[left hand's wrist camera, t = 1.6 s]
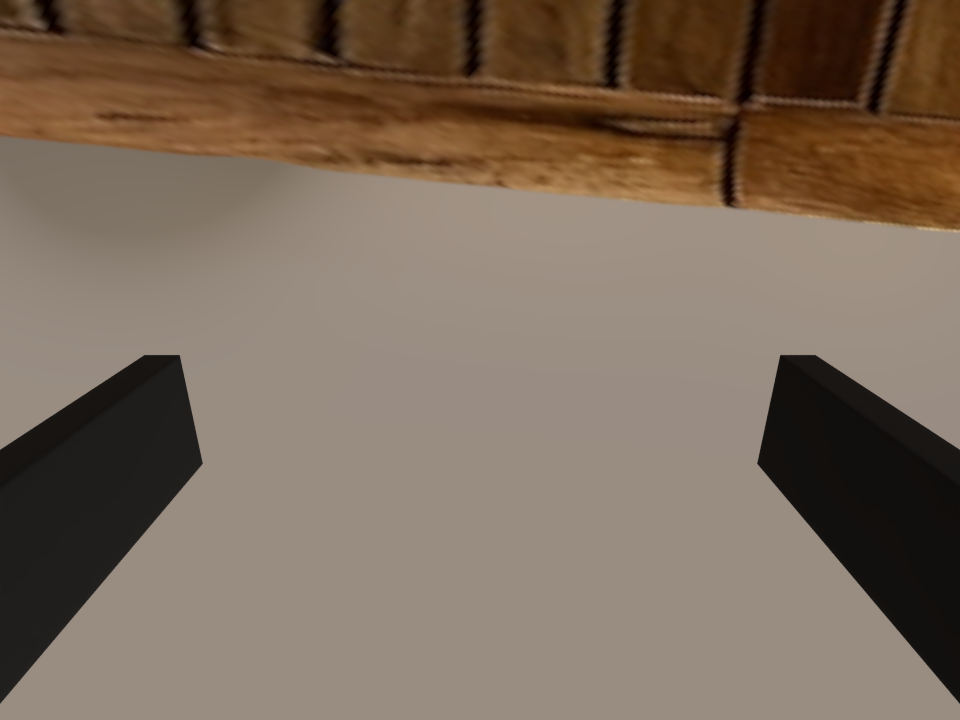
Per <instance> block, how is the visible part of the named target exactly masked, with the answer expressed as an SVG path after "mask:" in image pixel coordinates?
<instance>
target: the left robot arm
mask: <svg viewBox="0 0 960 720" xmlns="http://www.w3.org/2000/svg"><path fill="white" fill-rule="evenodd" d="M202 464H203V463H202V458H201V454H200V449H199V444H198V439H197V435H196V430H195V425H194V420H193V416H192V411H191V406H190V402H189V397H188V392H187V388H186V383H185V378H184V373H183V369H182V364H181V359H180V355H144V356H143V357H141V358H140V359H138V360H137V361H135V362H133V363H132V364H130V365H129V366H127V367H126V368H124V369H123V370H121V371H120V372H118V373H117V374H115V375H114V376H112V377H111V378H109V379H108V380H106V381H105V382H103V383H101V384H100V385H98V386H97V387H95V388H94V389H92V390H91V391H89V392H88V393H86V394H85V395H83V396H82V397H80V398H79V399H77V400H75V401H74V402H72V403H71V404H69V405H68V406H66V407H65V408H63V409H62V410H60V411H59V412H57V413H56V414H54V415H53V416H51V417H50V418H48V419H46V420H45V421H43V422H42V423H40V424H39V425H37V426H36V427H34V428H33V429H31V430H30V431H28V432H27V433H25V434H24V435H22V436H21V437H19V438H17V439H16V440H14V441H13V442H11V443H10V444H8V445H7V446H5V447H4V448H2V449H1V450H0V703H1V702H2V701H3V700H4V698H5V697H6V696H7V695H8V694H9V693H10V691H11V690H12V689H13V688H14V687H15V685H16V684H17V683H18V682H19V681H20V680H21V678H22V677H23V676H24V675H25V674H26V672H27V671H28V670H29V669H30V668H31V667H32V665H33V664H34V663H35V662H36V661H37V659H38V658H39V657H40V656H41V655H42V653H43V652H44V651H45V650H46V649H47V648H48V646H49V645H50V644H51V643H52V642H53V640H54V639H55V638H56V637H57V636H58V634H59V633H60V632H61V631H62V630H63V629H64V627H65V626H66V625H67V624H68V623H69V621H70V620H71V619H72V618H73V617H74V616H75V614H76V613H77V612H78V611H79V610H80V608H81V607H82V606H83V605H84V604H85V603H86V601H87V600H88V599H89V598H90V597H91V595H92V594H93V593H94V592H95V591H96V590H97V588H98V587H99V586H100V585H101V584H102V582H103V581H104V580H105V579H106V578H107V576H108V575H109V574H110V573H111V572H112V571H113V569H114V568H115V567H116V566H117V565H118V563H119V562H120V561H121V560H122V559H123V558H124V556H125V555H126V554H127V553H128V552H129V550H130V549H131V548H132V547H133V546H134V544H135V543H136V542H137V541H138V540H139V539H140V537H141V536H142V535H143V534H144V533H145V531H146V530H147V529H148V528H149V527H150V525H151V524H152V523H153V522H154V521H155V520H156V518H157V517H158V516H159V515H160V514H161V513H162V511H163V510H164V509H165V508H166V507H167V505H168V504H169V503H170V502H171V501H172V499H173V498H174V497H175V496H176V495H177V494H178V492H179V491H180V490H181V489H182V488H183V486H184V485H185V484H186V483H187V482H188V481H189V479H190V478H191V477H192V476H193V475H194V473H195V472H196V471H197V470H198V469H199V468H200V466H201V465H202ZM757 464H758V465H759V466H760V468H761V469H762V470H763V471H764V472H765V473H766V474H767V476H768V477H769V478H770V479H771V481H772V482H773V483H774V484H775V485H776V486H777V488H778V489H779V490H780V491H781V492H782V494H783V495H784V496H785V497H786V498H787V500H788V501H789V502H790V503H791V504H792V505H793V507H794V508H795V509H796V510H797V511H798V513H799V514H800V515H801V516H802V517H803V518H804V520H805V521H806V522H807V523H808V524H809V526H810V527H811V528H812V529H813V530H814V531H815V533H816V534H817V535H818V536H819V537H820V539H821V540H822V541H823V542H824V543H825V545H826V546H827V547H828V548H829V549H830V550H831V552H832V553H833V554H834V555H835V556H836V558H837V559H838V560H839V561H840V562H841V563H842V565H843V566H844V567H845V568H846V569H847V571H848V572H849V573H850V574H851V575H852V576H853V578H854V579H855V580H856V581H857V582H858V584H859V585H860V586H861V587H862V588H863V589H864V591H865V592H866V593H867V594H868V595H869V597H870V598H871V599H872V600H873V601H874V603H875V604H876V605H877V606H878V607H879V608H880V610H881V611H882V612H883V613H884V614H885V616H886V617H887V618H888V619H889V620H890V621H891V623H892V624H893V625H894V626H895V627H896V629H897V630H898V631H899V632H900V633H901V635H902V636H903V637H904V638H905V639H906V640H907V642H908V643H909V644H910V645H911V646H912V648H913V649H914V650H915V651H916V652H917V653H918V655H919V656H920V657H921V658H922V659H923V661H924V662H925V663H926V664H927V665H928V667H929V668H930V669H931V670H932V671H933V672H934V674H935V675H936V676H937V677H938V678H939V680H940V681H941V682H942V683H943V684H944V685H945V687H946V688H947V689H948V690H949V691H950V693H951V694H952V695H953V696H954V697H955V698H956V700H957V701H958V702H959V703H960V450H959V449H958V448H956V447H955V446H953V445H952V444H950V443H949V442H947V441H946V440H944V439H942V438H941V437H939V436H938V435H936V434H935V433H933V432H932V431H930V430H929V429H927V428H926V427H924V426H923V425H921V424H920V423H918V422H917V421H915V420H914V419H912V418H910V417H909V416H907V415H906V414H904V413H903V412H901V411H900V410H898V409H897V408H895V407H894V406H892V405H891V404H889V403H888V402H886V401H885V400H883V399H881V398H880V397H878V396H877V395H875V394H874V393H872V392H871V391H869V390H868V389H866V388H865V387H863V386H862V385H860V384H859V383H857V382H855V381H854V380H852V379H851V378H849V377H848V376H846V375H845V374H843V373H842V372H840V371H839V370H837V369H836V368H834V367H833V366H831V365H830V364H828V363H827V362H825V361H824V360H822V359H820V358H819V357H817V356H816V355H780V359H779V364H778V369H777V373H776V378H775V383H774V387H773V392H772V397H771V402H770V406H769V411H768V416H767V421H766V425H765V430H764V435H763V440H762V444H761V449H760V453H759V458H758V463H757Z"/></svg>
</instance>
